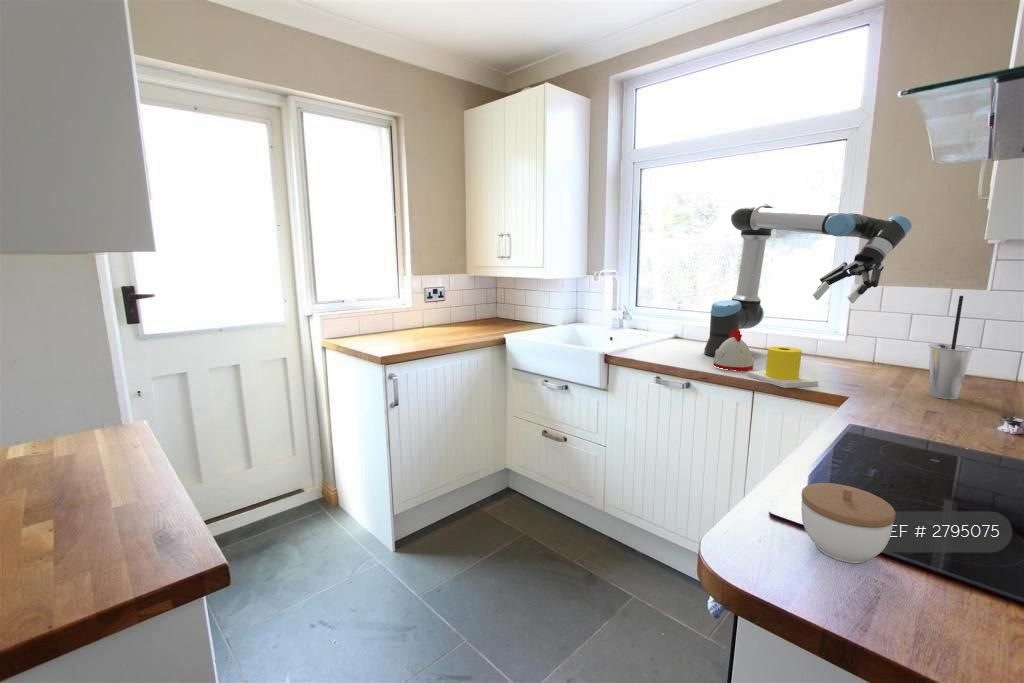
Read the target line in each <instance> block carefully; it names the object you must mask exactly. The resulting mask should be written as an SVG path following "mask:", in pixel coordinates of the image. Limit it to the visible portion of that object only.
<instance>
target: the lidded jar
mask: <svg viewBox="0 0 1024 683" xmlns="http://www.w3.org/2000/svg"><path fill="white" fill-rule="evenodd" d="M895 519H896V511H895V509H894V507H893V506H892V505H891V504H890V503H889V502H887V501H886V500H885V499H884V498H882V497H879V496H878V495H875V494H873V493H871V492H869V491H866V490H863V489H860V488H857V487H853V486H849V485H845V484H839V483H833V482H832V483H831V482H818V483H816V482H815V483H811V484H808V485H806V486H804V487H803V488H802V491H801V520H802V525H803V527H804V530H805V532H806V534H807V535H808V537H809V539H810V540H811V541H812V542H813V543H814V544H815V547H816V546H817V547H818V548H817V547H816V548H817V550H819V551H820V552H821V553H822V554H823V555H825V556H827V557H829V558H831V559H834V560H836V561H839V562H842V563H847V564H862V563H865V562H867V561H868V560H870V559H873V558H874V557H877V556H878V555H880V553H882V552H883V551H884V550H885V548H886V546H887V545H888V543H889V541H890V539H891V536H892V532H893V528H894V526H893V525H894V522H895Z"/></svg>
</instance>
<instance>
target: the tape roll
mask: <svg viewBox="0 0 1024 683" xmlns="http://www.w3.org/2000/svg"><path fill="white" fill-rule="evenodd" d="M801 359H802V349H800V348H796V347H792V346H791V347H789V346H768V347H767V351H766V365H765V371H766V373H765V375H766V376H768V377H771V378H776V379H784V380H794V379H798V378H799V376H800V369H801V368H800V367H801Z"/></svg>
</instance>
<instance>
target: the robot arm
mask: <svg viewBox="0 0 1024 683" xmlns="http://www.w3.org/2000/svg"><path fill="white" fill-rule="evenodd" d="M730 216H731V217H730V221H731V224H732V226H733V227H734V228H735V229H736V230H738V231H740V232H741V233H740V236H741V238H742V239H743V244H742V251H741V257H740V258H741V259H740V265H739V266H740V267H739V273H738V281H737V286H736V294H735V295H733V296H732V297H731V300H719V301H715V302H713V303H712V305H711V309H710V322H709V337H708V339H707V342H706V344H705V347H704V351H703V354H704V353H705V355H706V354H708V355H707V356H709V355H712V356H711V357H713V356H715V353H716V349H719V347H720V346H721V344H722V343H723V342H724V341H726V340H727V339H729V334H731V331H733V329H736V330H738V331H740V330H743V329H751V328H754V327H757V326H758V325H759V324H760V323H761V322H762V320H763V319H764V314H765V312H764V308H763V307H762V305H761V300H762V299H761V298H760V297H759V289H760V282H761V277H762V275H761V274H762V270H763V262H764V255H765V249H766V244H767V243H766V242H767V240H769V239H770V238H771V236H772V231H773V230H776V231H785V232H786V231H788V232H796V233H797V232H799V233H805V234H806V233H808V234H817V235H826V236H833V237H847V238H848V237H850V238H851V237H852V238H859V239H863V240H867V242H866V243H865V244H864V245H863V246H862V248H861V249H860V250H859V251H858V252H857V253H856V254H855V256H854V259H853V261H852V262H850V263H847V261H843V262H842V263H841V264H839V266H838V267H836V268H834V269H833V270H831V271H829V272H828V273H826V274H825V275H823V276H822V277H821V278H819V281H820V282H821V284H820V285H819V286H818V287H817V289H816V290H815V291H814V293H812V297H813V298H814V299H815V300H817V301H819V300H820V299H821V297H823V296H824V294H825V293H826V292H827V291H828V290H829V289H831V285H833V284H835V283H838V282H839V281H841V280H843V279H845V278H850V277H853V276H854V277H855V276H861V278H862V282H860V283H859V284H858V285H857V286H856V287H855V288H854V289H853V290H852V291H851V292H850V294H849V295H848V296H847V299H848V301H849V302H850V303H851V304H854V303H855V302H856V301H857V300H858V299H859V298H860V296H863V294H865V292H866V291H867V290H869V289H871V288H872V287H873V288H877V287H878V286H879V282H880V279H881V273H882V271H883V269H885V268H884V267H885V266H884V265H883V264H882V263H883V261H884V260H885V259H887V257H888V256H889V254H891V253H892V251H893V250H894V249H895V248H896V246H898V244H900V242H901V241H902V240H903V239H905V238H906V236H907V235H908V233H909V232H910V231H911V229H912V227H913V226H912V222H911V221H910V220H909V219H908V218H907V217H906V216H903V215H899V214H898V215H892V216H890V217H888V219H886V220H885V219H881V218H880V219H879V218H874V217H871V216H866V215H863V214H860V213H853V212H850V213H842V212H841V213H838V212H836V213H835V212H821V211H810V210H809V211H808V210H793V209H781V208H780V209H778V208H775V207H774V206H772V205H769V204H767V203H758V202H757V203H756V202H750V201H749V202H743V203H740V204H739V205H737V206H736V207H735V208H734V209H733V211H732V212H731V215H730ZM870 271H872V272H871V275H870ZM870 276H871V277H870Z"/></svg>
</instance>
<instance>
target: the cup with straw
mask: <svg viewBox="0 0 1024 683" xmlns="http://www.w3.org/2000/svg"><path fill="white" fill-rule="evenodd" d="M963 301H964V295H959V296H958V303H957V310H956V314H955V315H956V316H955V321H954V329H953V335H952V342H951V344H947V343H946V344H945V343H931V344H930V343H929V344H928V345H927V346H928V347H929V365H928V366H929V367H928V368H929V369H928V370H929V372H928V375H929V383H928V384H929V386H928V388H929V389H928V390H929V391H928V396H930V397H932V396H934V397H933V398H935V397H937V398H936V399H939V398H942V400H946V399H951V400H950V401H953V400H955V399H956V400H958V399H959V398H958V397H959V395H960V391H961V388H962V385H963V381H964V378H965V375H966V372H967V368H968V364H969V361H970V359H971V355H972V352H973V351H975V348H974V347H970V346H964V345H958V344H957V340H958V339H957V338H958V332H959V327H960V320H961V314H962V308H963ZM956 400H955V401H956Z"/></svg>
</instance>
